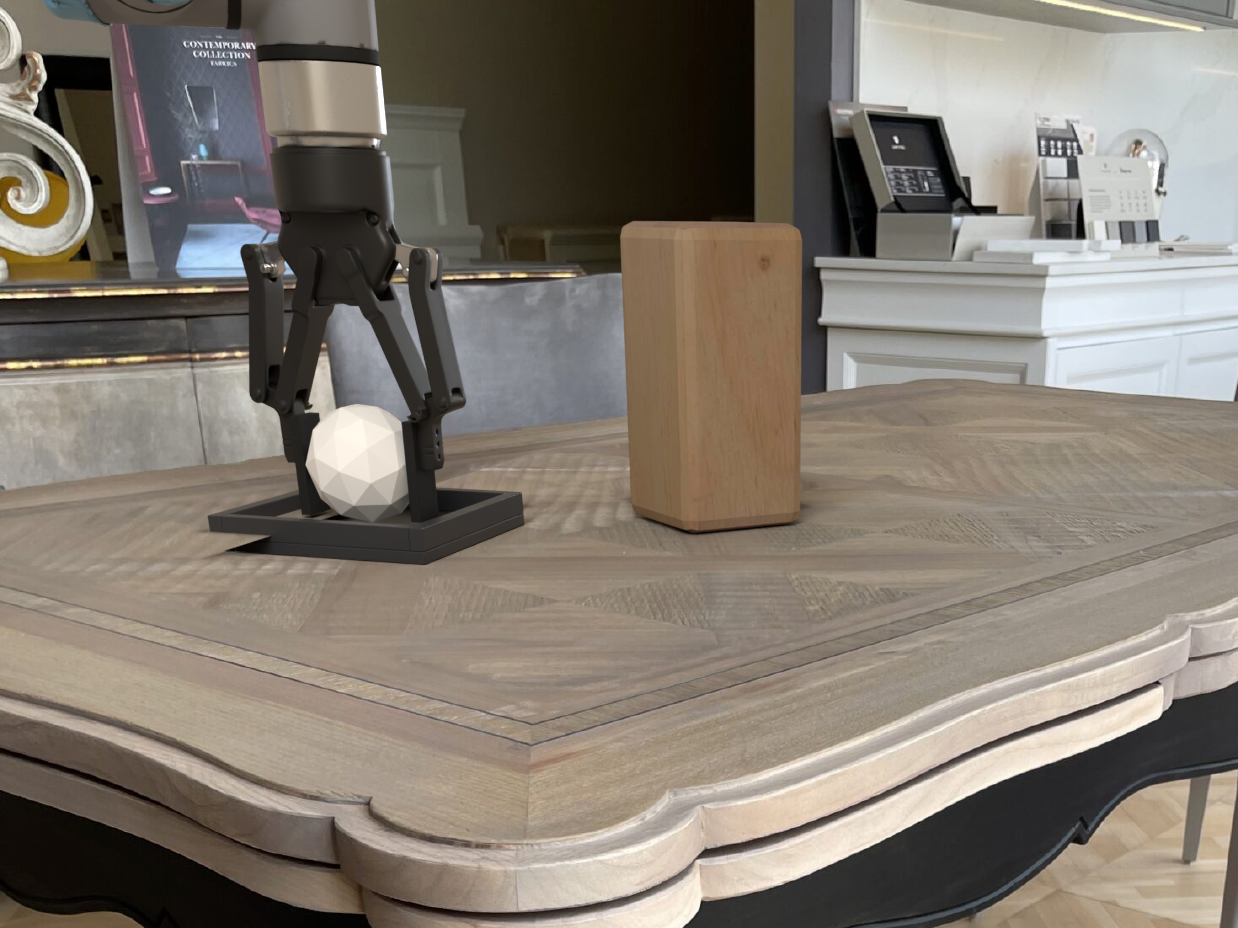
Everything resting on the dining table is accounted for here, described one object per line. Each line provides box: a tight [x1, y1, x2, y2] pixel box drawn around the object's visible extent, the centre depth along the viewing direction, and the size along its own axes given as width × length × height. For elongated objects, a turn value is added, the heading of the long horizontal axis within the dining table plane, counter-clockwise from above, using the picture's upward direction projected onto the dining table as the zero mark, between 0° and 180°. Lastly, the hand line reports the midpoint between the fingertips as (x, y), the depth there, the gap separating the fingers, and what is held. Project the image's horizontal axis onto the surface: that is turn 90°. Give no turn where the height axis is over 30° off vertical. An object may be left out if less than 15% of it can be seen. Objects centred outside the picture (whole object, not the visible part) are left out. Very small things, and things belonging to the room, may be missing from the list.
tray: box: [207, 486, 525, 565], centre depth 113 cm, size 16×16×2 cm
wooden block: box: [619, 220, 803, 534], centre depth 116 cm, size 10×10×20 cm
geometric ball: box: [306, 403, 409, 523], centre depth 111 cm, size 8×8×8 cm
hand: (370, 515), depth 113 cm, fingers closed on geometric ball, 8 cm apart
